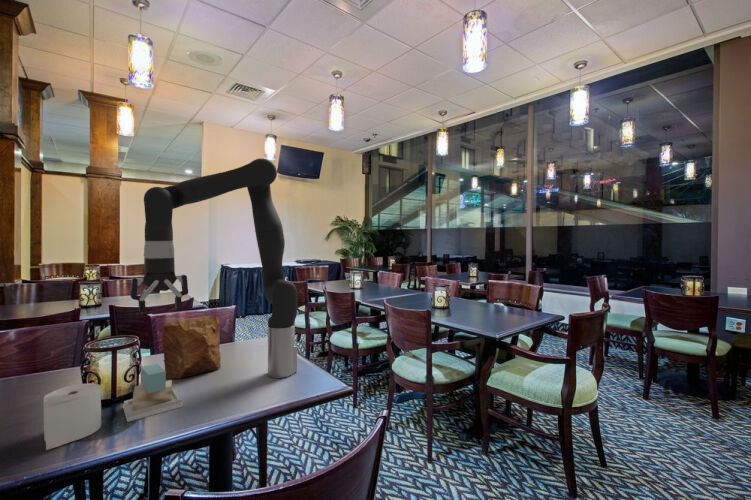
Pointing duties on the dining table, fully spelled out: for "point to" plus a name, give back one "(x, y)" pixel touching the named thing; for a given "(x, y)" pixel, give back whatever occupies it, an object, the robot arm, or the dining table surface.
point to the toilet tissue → (71, 414)
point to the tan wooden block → (151, 396)
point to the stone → (191, 346)
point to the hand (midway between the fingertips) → (160, 311)
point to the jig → (151, 407)
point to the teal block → (153, 378)
